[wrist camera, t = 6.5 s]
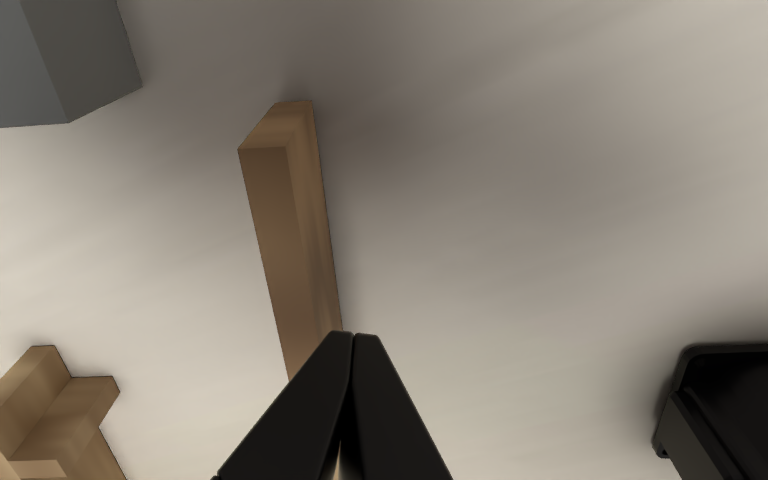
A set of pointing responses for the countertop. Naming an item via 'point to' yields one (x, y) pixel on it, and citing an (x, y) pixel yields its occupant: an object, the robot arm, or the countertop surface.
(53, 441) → the corral
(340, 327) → the gate
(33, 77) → the block
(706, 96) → the countertop surface
